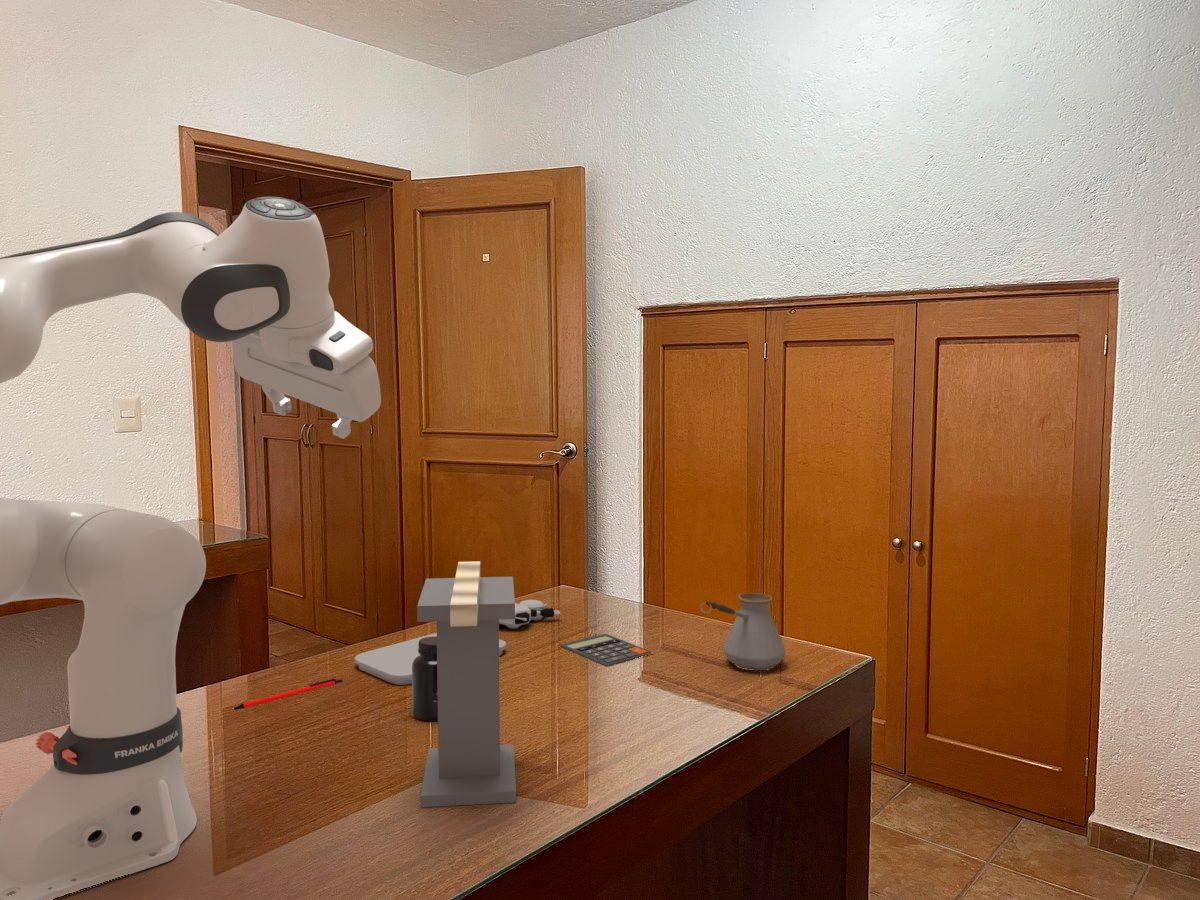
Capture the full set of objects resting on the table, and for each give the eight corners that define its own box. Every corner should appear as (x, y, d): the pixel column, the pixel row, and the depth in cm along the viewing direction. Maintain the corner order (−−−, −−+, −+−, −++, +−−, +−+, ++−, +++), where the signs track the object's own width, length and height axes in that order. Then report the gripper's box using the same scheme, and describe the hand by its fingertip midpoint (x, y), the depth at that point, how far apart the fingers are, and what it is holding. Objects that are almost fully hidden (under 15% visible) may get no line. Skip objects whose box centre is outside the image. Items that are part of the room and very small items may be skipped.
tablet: (513, 655, 172) (513, 643, 172) (399, 691, 153) (399, 678, 153) (460, 637, 183) (460, 626, 183) (348, 668, 164) (347, 656, 164)
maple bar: (476, 625, 102) (476, 604, 102) (450, 626, 102) (450, 605, 101) (480, 579, 124) (480, 561, 123) (458, 579, 123) (458, 561, 123)
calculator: (606, 664, 165) (559, 643, 176) (606, 669, 165) (559, 648, 176) (654, 651, 172) (605, 632, 183) (654, 656, 172) (605, 637, 184)
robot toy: (528, 614, 202) (473, 622, 192) (529, 594, 202) (474, 601, 191) (563, 626, 193) (508, 635, 183) (565, 605, 193) (509, 613, 183)
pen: (343, 683, 156) (343, 677, 156) (233, 712, 143) (233, 705, 143) (340, 682, 157) (340, 676, 157) (231, 710, 144) (231, 704, 144)
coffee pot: (745, 650, 174) (746, 575, 173) (797, 664, 166) (799, 585, 165) (677, 678, 159) (678, 595, 157) (730, 695, 151) (732, 608, 150)
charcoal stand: (515, 802, 114) (514, 603, 111) (420, 807, 113) (417, 606, 110) (513, 754, 128) (512, 576, 125) (428, 758, 126) (426, 578, 124)
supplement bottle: (446, 723, 138) (445, 648, 137) (405, 720, 140) (404, 645, 139) (462, 707, 145) (461, 635, 144) (422, 703, 147) (421, 632, 145)
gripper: (211, 318, 107) (231, 410, 116) (351, 367, 102) (361, 461, 110) (248, 296, 112) (265, 387, 121) (384, 342, 106) (391, 434, 115)
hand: (312, 423), depth 115 cm, fingers open, 8 cm apart
